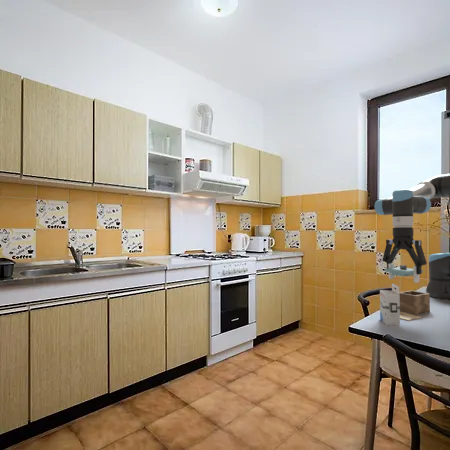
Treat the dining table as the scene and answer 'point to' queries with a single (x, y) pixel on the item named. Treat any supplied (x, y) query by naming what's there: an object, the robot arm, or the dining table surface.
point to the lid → (401, 271)
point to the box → (414, 302)
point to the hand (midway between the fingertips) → (403, 280)
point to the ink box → (390, 306)
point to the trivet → (408, 316)
